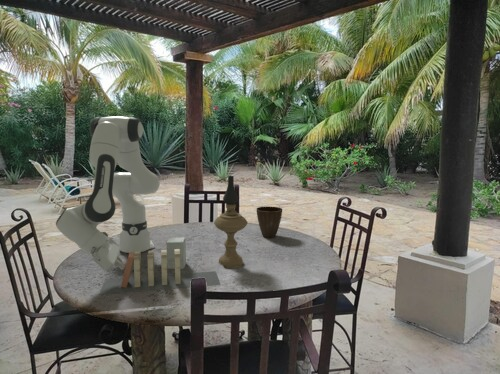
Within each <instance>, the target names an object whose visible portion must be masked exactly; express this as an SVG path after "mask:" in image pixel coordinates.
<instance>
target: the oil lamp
mask: <svg viewBox="0 0 500 374" xmlns="http://www.w3.org/2000/svg"><path fill="white" fill-rule="evenodd" d="M234 177H235V176H234V175H228V176H227V187H226V190H225V192H224V195H223V197H222V199H223V202H224V203H225V208H226V210H225V212H223V213H221V214H220V215H219V216H218V217H216V219H215V220H214V222H213V224H214V226H215V227H216V229H219V230H220V231H222V232H224V233H225V234H226V235H227V239H225V242H224V243H223V245H224V247H225V251H224V253H223V254H221V256H220V257H219V258H218V264H220V265H221V266H223V268H227V269H236V268H239V267H241V266H243V265H244V261H243V257H242V256H241V255H240V254H239V253H238V252H237V250H236V249H237V246H238V241H236V238H235V234H236V233H237V232H239V231H242V230H243V229H244V228H246V226H247V225H248V221H247V219H246V218H245V217H244V216H243V215H242V214H241V213H240V212H237V211H236V207H237V205H236V204H237V203H238V201H239V199H240V198H239V195H238V194H237V192H236V188H235V184H234Z"/></svg>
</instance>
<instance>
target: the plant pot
mask: <svg viewBox="0 0 500 374" xmlns="http://www.w3.org/2000/svg"><path fill="white" fill-rule="evenodd" d="M255 209H256V217H257V221H258V226H259V229H260V230H259V231H260V232H261V236H262V237H263V238H269V239H271V238H275V237H276V236H277V233H278V231H279V228H280V224H281V221H282V215H283V208H282V207H277V206H260V207H256V208H255Z"/></svg>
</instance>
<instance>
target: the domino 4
mask: <svg viewBox="0 0 500 374" xmlns="http://www.w3.org/2000/svg"><path fill="white" fill-rule="evenodd" d="M160 252H161V253H160V254H161V255H160V256H161V257H160V259H161V261H160V263H161V275H162V285H167V275H168V269H167V249H161V251H160Z"/></svg>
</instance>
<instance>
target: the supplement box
mask: <svg viewBox="0 0 500 374" xmlns="http://www.w3.org/2000/svg"><path fill="white" fill-rule="evenodd" d="M165 245H166V250H167V270H173V269H174V270H175V252H174V249H180V270H181V269H185V267H186V265H187V256H186V255H187V251H186V237H169V238H168V240H167V241H166V243H165Z"/></svg>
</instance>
